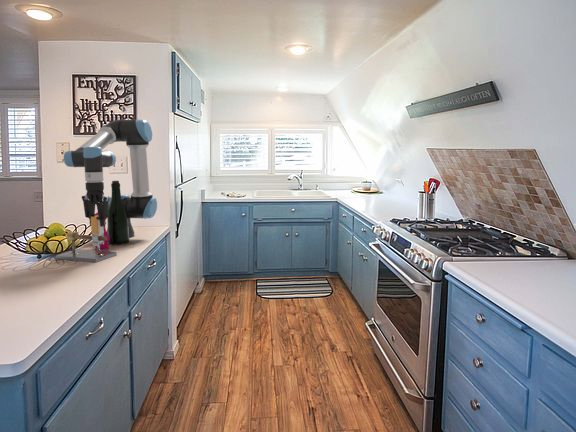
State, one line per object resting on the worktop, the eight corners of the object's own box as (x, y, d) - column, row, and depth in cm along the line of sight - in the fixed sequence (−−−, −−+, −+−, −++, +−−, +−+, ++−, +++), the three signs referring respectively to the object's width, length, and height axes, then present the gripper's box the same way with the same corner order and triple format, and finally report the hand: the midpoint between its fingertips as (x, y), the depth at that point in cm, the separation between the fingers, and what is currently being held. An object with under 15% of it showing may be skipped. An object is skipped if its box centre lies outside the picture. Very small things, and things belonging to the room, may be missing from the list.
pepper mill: (106, 250, 227) (104, 209, 224) (91, 250, 227) (89, 209, 224) (112, 246, 234) (110, 207, 231) (98, 246, 234) (95, 207, 231)
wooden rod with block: (73, 251, 217) (72, 231, 216) (109, 254, 211) (108, 234, 210) (67, 253, 213) (65, 233, 212) (103, 256, 208) (102, 235, 206)
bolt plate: (77, 251, 223) (77, 248, 223) (116, 255, 216) (116, 251, 216) (55, 258, 210) (55, 255, 209) (96, 262, 203) (95, 258, 203)
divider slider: (99, 252, 213) (96, 215, 210) (104, 252, 212) (102, 215, 210) (93, 254, 209) (90, 216, 207) (98, 254, 208) (96, 216, 206)
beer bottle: (125, 245, 238) (121, 181, 233) (104, 245, 238) (101, 181, 233) (132, 241, 248) (129, 179, 243) (113, 241, 248) (109, 179, 243)
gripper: (73, 181, 204) (77, 233, 208) (104, 182, 200) (107, 235, 203) (85, 180, 212) (88, 230, 215) (115, 181, 207) (118, 232, 210)
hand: (97, 233), depth 209 cm, fingers closed on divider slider, 3 cm apart
